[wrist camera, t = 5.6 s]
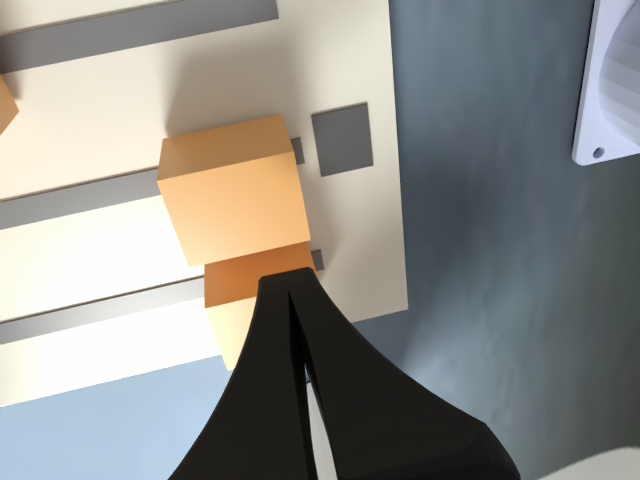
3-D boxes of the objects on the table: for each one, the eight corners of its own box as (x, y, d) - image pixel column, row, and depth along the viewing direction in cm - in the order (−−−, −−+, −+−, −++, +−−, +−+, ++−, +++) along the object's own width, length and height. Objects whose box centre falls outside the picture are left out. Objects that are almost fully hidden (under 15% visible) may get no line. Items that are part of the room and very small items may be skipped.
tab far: (305, 234, 20) (319, 281, 18) (317, 294, 22) (331, 345, 20) (204, 257, 20) (204, 308, 18) (225, 316, 22) (227, 370, 20)
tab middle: (281, 113, 18) (293, 151, 15) (297, 194, 19) (311, 240, 17) (162, 138, 17) (156, 181, 15) (190, 218, 19) (188, 267, 17)
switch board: (362, -183, 15) (377, -188, 14) (398, 288, 25) (408, 310, 24) (-380, -52, 14) (-440, -44, 12) (-20, 387, 24) (-33, 416, 23)
